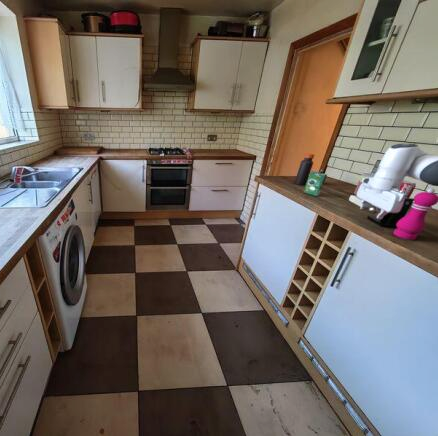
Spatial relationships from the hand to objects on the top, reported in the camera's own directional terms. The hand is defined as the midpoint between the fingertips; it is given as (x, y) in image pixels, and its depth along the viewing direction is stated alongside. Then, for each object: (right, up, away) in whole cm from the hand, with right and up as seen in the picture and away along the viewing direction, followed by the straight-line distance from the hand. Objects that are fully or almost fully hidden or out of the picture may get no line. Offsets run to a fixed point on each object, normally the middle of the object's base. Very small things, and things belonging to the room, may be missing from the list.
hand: (370, 214), depth 101 cm
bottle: (+5, +21, +54) cm, 58 cm away
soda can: (+36, +5, +23) cm, 43 cm away
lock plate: (+21, +6, +22) cm, 31 cm away
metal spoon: (+5, +2, -2) cm, 6 cm away
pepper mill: (+4, -9, -10) cm, 14 cm away
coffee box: (-1, +12, +35) cm, 37 cm away
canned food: (+33, +12, +37) cm, 51 cm away
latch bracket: (+9, -4, +1) cm, 10 cm away
